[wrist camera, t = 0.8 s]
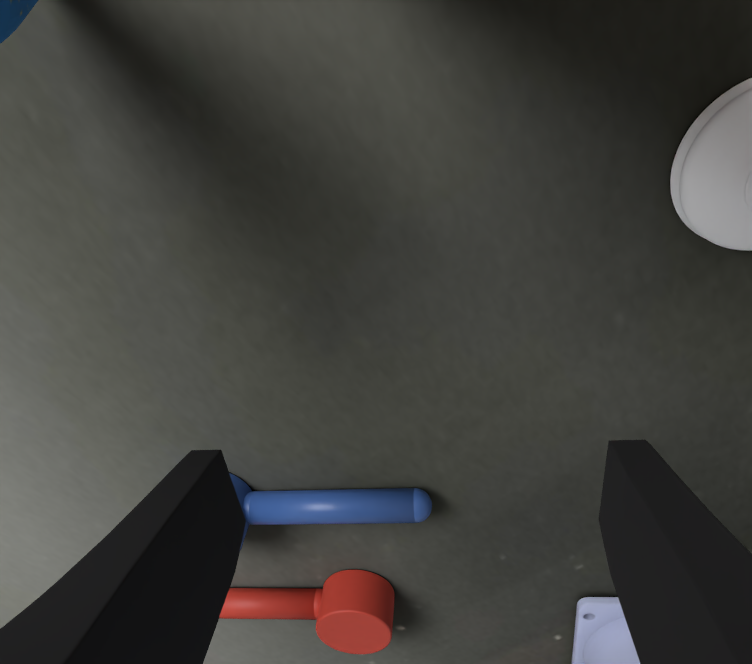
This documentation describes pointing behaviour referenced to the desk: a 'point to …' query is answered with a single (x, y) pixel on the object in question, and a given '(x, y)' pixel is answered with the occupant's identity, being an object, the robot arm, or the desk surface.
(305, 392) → the desk surface
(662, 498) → the robot arm
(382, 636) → the red spoon
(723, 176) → the chess piece
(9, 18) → the ornament
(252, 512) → the blue spoon
